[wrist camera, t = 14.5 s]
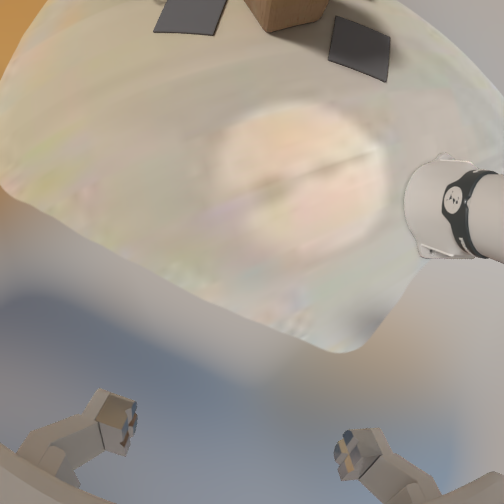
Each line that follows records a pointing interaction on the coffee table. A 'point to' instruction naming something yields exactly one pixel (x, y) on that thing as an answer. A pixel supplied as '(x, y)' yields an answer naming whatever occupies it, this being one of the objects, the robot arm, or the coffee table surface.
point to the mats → (342, 45)
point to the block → (286, 12)
